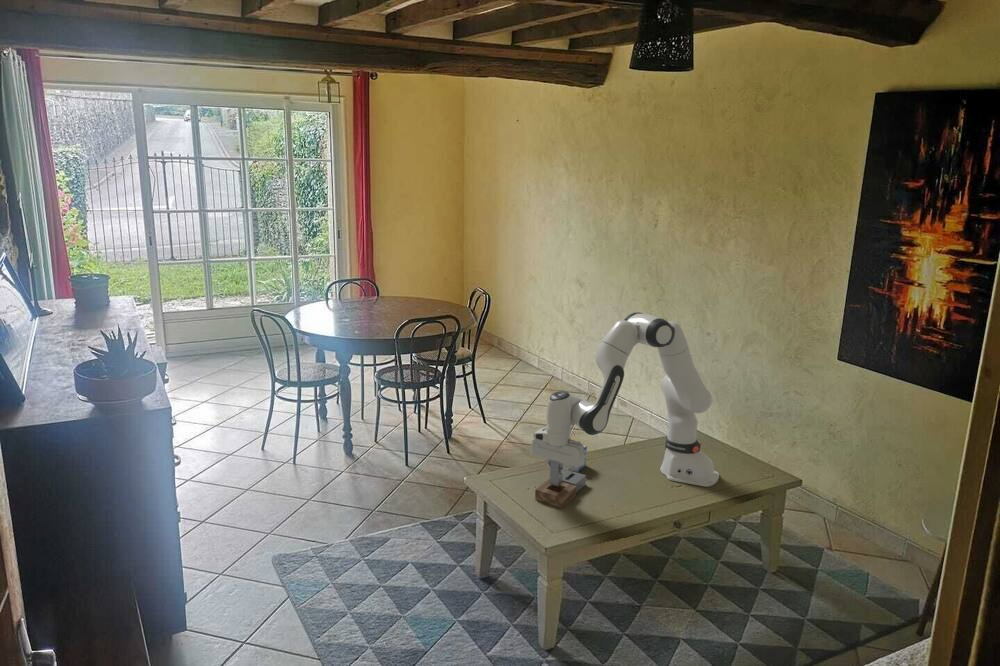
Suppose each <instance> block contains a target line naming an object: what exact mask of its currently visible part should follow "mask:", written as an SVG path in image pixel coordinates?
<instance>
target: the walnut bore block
mask: <svg viewBox="0 0 1000 666" xmlns="http://www.w3.org/2000/svg"><path fill="white" fill-rule="evenodd" d="M534 495H535V496H534V500H536V501H539V502H543V503H545V504H548V505H552V506H554V507H558V508H561V509H562V508H564V507H565V506H566V505H567V504H568V503H570V502H571V501H572V500H573V499H574V498H575V497H576V496H577V493H576V486H575V485H571V484H568V483H565V482H562V484H560V485H559V486H555V485H552V484H550V478H549V479H547V480H546V481H544V482H543V483H541V485H539V486H538V487H536V489H535V493H534Z"/></svg>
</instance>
